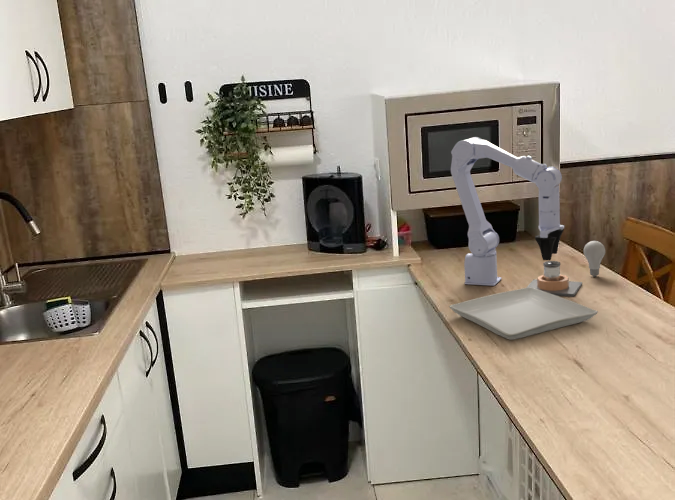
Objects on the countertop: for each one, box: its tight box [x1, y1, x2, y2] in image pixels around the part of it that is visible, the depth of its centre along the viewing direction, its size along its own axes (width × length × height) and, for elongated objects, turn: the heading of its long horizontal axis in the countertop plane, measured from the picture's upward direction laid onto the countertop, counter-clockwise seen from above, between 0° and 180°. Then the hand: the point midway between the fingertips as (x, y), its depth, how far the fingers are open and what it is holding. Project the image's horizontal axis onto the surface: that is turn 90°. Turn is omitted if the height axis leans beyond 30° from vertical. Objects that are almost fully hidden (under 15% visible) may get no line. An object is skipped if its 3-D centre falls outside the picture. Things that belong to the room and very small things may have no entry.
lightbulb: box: [583, 240, 606, 278], centre depth 217 cm, size 6×6×11 cm
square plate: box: [448, 287, 599, 341], centre depth 186 cm, size 27×27×4 cm
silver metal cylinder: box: [542, 260, 561, 281], centre depth 208 cm, size 5×5×7 cm
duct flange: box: [525, 273, 583, 298], centre depth 209 cm, size 14×12×3 cm
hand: (550, 256), depth 209 cm, fingers open, 7 cm apart
